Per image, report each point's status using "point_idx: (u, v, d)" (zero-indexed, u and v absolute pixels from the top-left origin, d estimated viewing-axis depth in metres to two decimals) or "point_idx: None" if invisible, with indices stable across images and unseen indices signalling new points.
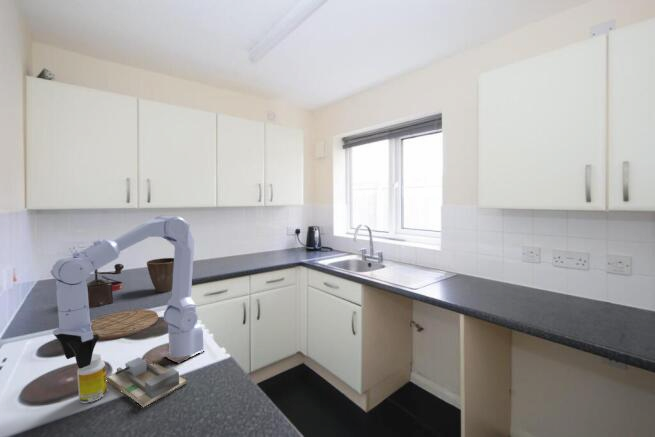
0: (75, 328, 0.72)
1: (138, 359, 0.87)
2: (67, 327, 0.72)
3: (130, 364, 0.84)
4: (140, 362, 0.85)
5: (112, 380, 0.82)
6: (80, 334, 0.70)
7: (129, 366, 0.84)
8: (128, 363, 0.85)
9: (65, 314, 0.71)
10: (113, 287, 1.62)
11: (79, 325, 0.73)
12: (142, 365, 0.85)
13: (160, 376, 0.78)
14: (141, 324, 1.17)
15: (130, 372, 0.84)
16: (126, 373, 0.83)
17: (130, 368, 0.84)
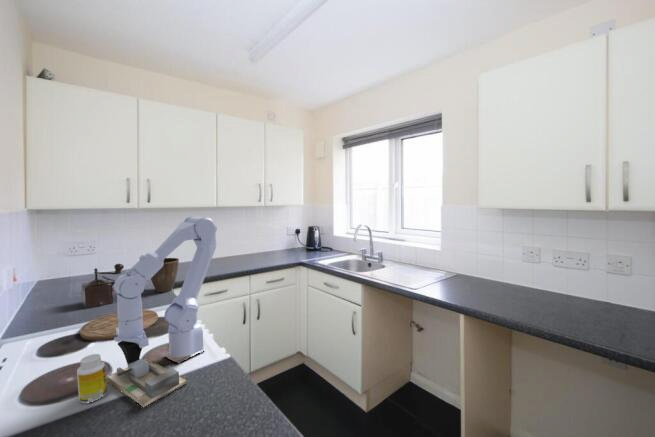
0: (132, 336, 0.84)
1: (140, 360, 0.86)
2: (126, 335, 0.83)
3: (132, 365, 0.84)
4: (142, 363, 0.85)
5: (112, 380, 0.82)
6: (138, 341, 0.81)
7: (131, 367, 0.83)
8: (130, 364, 0.84)
9: (125, 324, 0.83)
10: None
11: (136, 333, 0.84)
12: (144, 367, 0.84)
13: (160, 376, 0.78)
14: None
15: (132, 374, 0.83)
16: (126, 373, 0.83)
17: (132, 370, 0.83)
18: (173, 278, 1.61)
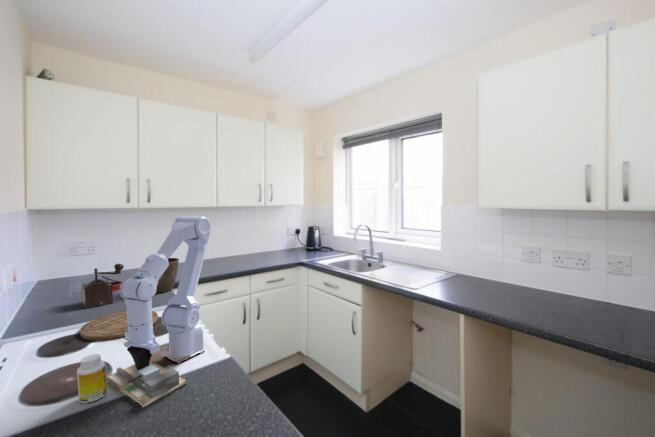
0: (143, 341, 0.81)
1: (151, 366, 0.83)
2: (136, 341, 0.80)
3: (143, 372, 0.81)
4: (153, 370, 0.82)
5: (112, 380, 0.82)
6: (149, 347, 0.78)
7: (142, 374, 0.80)
8: (140, 371, 0.81)
9: (135, 329, 0.80)
10: (113, 287, 1.62)
11: (146, 338, 0.81)
12: (155, 373, 0.81)
13: (160, 376, 0.78)
14: None
15: (143, 380, 0.80)
16: (126, 373, 0.83)
17: (143, 376, 0.80)
18: (173, 278, 1.61)
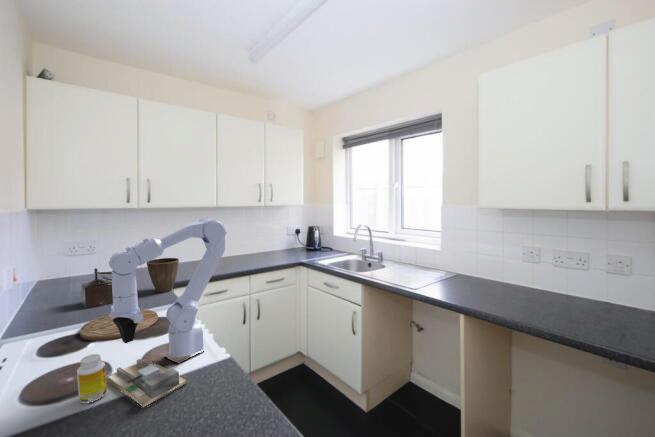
0: (127, 312, 0.84)
1: (151, 366, 0.83)
2: (121, 311, 0.84)
3: (143, 372, 0.81)
4: (153, 370, 0.82)
5: (112, 380, 0.82)
6: (133, 317, 0.82)
7: (142, 374, 0.80)
8: (140, 371, 0.81)
9: (119, 300, 0.83)
10: None
11: (130, 309, 0.85)
12: (155, 373, 0.81)
13: (160, 376, 0.78)
14: (141, 324, 1.17)
15: (143, 380, 0.80)
16: (126, 373, 0.83)
17: (143, 376, 0.80)
18: (173, 278, 1.61)
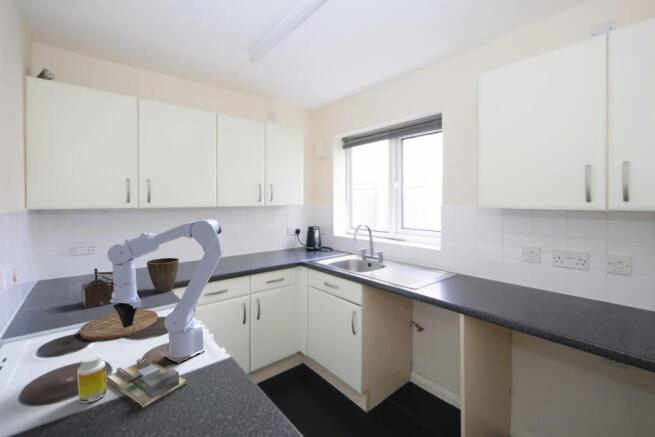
0: (127, 298, 0.92)
1: (151, 366, 0.83)
2: (121, 297, 0.91)
3: (143, 372, 0.81)
4: (153, 370, 0.82)
5: (112, 380, 0.82)
6: (132, 302, 0.89)
7: (142, 374, 0.80)
8: (140, 371, 0.81)
9: (120, 287, 0.91)
10: (113, 287, 1.62)
11: (130, 296, 0.92)
12: (155, 373, 0.81)
13: (160, 376, 0.78)
14: (141, 324, 1.17)
15: (143, 380, 0.80)
16: (126, 373, 0.83)
17: (143, 376, 0.80)
18: (173, 278, 1.61)
